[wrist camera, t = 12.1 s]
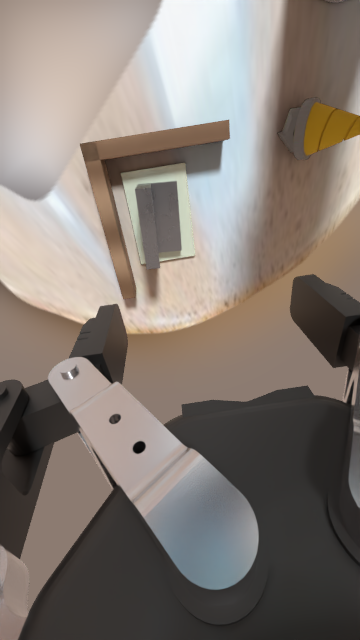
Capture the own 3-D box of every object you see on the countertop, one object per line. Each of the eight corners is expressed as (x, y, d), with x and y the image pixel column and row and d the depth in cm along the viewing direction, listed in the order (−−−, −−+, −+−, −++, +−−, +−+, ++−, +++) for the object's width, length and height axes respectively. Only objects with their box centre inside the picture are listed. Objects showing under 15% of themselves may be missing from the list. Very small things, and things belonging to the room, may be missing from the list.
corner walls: (86, 145, 29) (79, 143, 26) (222, 123, 29) (229, 119, 26) (125, 289, 38) (123, 299, 35) (228, 272, 38) (234, 280, 36)
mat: (121, 173, 31) (120, 173, 30) (184, 162, 31) (185, 162, 30) (141, 263, 36) (141, 264, 36) (194, 254, 36) (195, 255, 36)
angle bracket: (138, 184, 31) (134, 189, 25) (176, 180, 31) (181, 184, 25) (147, 251, 35) (146, 269, 29) (180, 247, 35) (186, 265, 29)
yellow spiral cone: (285, 91, 28) (398, 72, 23) (287, 141, 33) (383, 135, 27) (264, 122, 27) (380, 111, 22) (269, 170, 31) (367, 170, 26)
